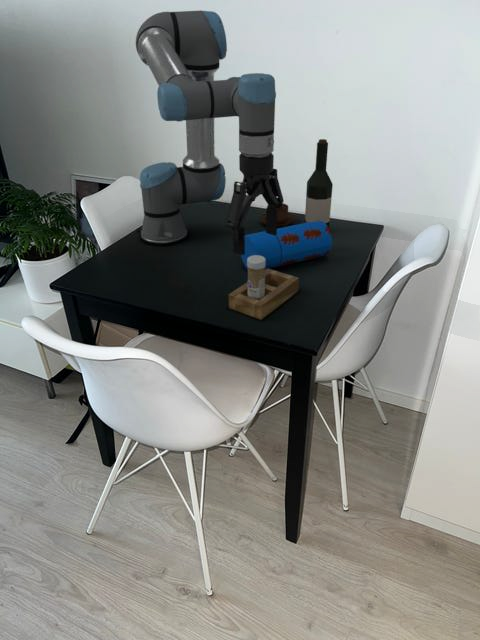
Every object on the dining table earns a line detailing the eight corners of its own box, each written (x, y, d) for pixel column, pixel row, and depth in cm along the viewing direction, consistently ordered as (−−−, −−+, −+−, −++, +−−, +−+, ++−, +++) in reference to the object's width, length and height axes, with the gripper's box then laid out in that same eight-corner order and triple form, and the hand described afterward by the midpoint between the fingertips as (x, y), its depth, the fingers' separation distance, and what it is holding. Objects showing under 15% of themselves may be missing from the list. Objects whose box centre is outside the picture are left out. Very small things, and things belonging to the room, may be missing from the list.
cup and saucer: (262, 216, 184) (262, 200, 181) (295, 217, 183) (295, 201, 180) (258, 229, 174) (258, 211, 171) (293, 230, 173) (294, 213, 170)
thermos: (336, 245, 148) (260, 262, 139) (321, 261, 157) (249, 278, 148) (322, 213, 150) (246, 228, 141) (308, 231, 160) (236, 246, 151)
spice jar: (243, 306, 131) (243, 259, 123) (254, 299, 134) (254, 252, 126) (257, 312, 128) (257, 264, 121) (268, 305, 131) (269, 257, 124)
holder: (228, 308, 130) (228, 294, 128) (267, 281, 142) (267, 268, 140) (261, 320, 125) (261, 306, 123) (298, 290, 137) (299, 277, 135)
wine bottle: (330, 228, 174) (338, 137, 158) (326, 237, 167) (333, 144, 151) (306, 225, 176) (312, 136, 160) (301, 234, 170) (306, 142, 154)
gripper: (236, 170, 100) (237, 266, 111) (300, 143, 117) (296, 229, 128) (206, 163, 104) (211, 257, 115) (273, 139, 121) (271, 223, 132)
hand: (255, 243), depth 122 cm, fingers open, 13 cm apart
